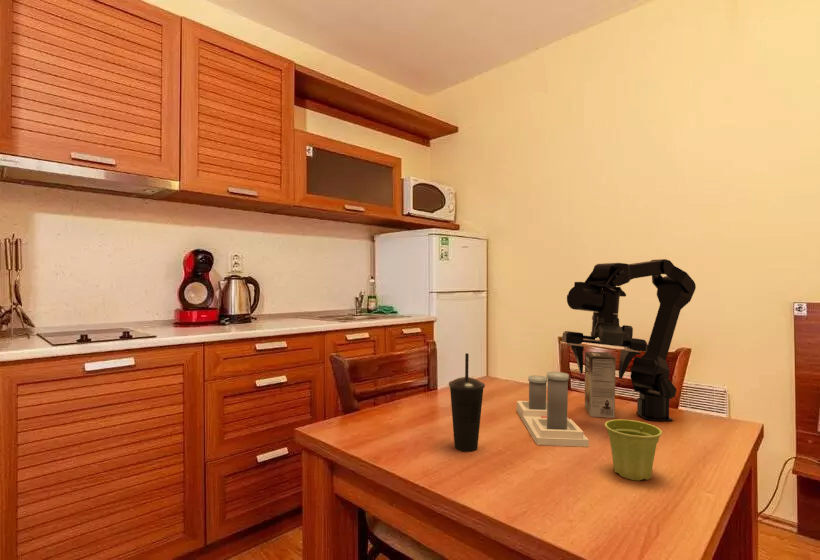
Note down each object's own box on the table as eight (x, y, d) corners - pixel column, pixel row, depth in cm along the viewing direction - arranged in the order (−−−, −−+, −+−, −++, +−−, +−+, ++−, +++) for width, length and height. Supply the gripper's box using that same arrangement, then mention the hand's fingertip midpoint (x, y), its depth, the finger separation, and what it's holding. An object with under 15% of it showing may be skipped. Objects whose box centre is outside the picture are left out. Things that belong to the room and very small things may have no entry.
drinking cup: (486, 443, 95) (487, 352, 95) (480, 456, 87) (481, 357, 88) (452, 439, 97) (453, 349, 97) (444, 451, 90) (445, 355, 90)
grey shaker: (568, 429, 100) (569, 373, 100) (567, 435, 96) (568, 376, 96) (547, 426, 102) (548, 371, 102) (544, 432, 98) (545, 374, 98)
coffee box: (583, 407, 124) (584, 351, 124) (607, 408, 122) (608, 352, 123) (590, 416, 115) (590, 356, 115) (616, 418, 113) (616, 357, 114)
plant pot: (660, 490, 74) (661, 439, 74) (600, 477, 79) (601, 429, 79) (662, 471, 82) (662, 425, 82) (608, 459, 87) (608, 416, 87)
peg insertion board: (557, 412, 118) (557, 373, 118) (588, 446, 93) (589, 398, 93) (516, 411, 119) (516, 372, 119) (536, 444, 94) (537, 396, 94)
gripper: (573, 309, 102) (567, 376, 101) (659, 317, 98) (653, 386, 98) (564, 309, 112) (559, 369, 112) (641, 316, 109) (636, 378, 109)
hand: (600, 375), depth 107 cm, fingers open, 9 cm apart
